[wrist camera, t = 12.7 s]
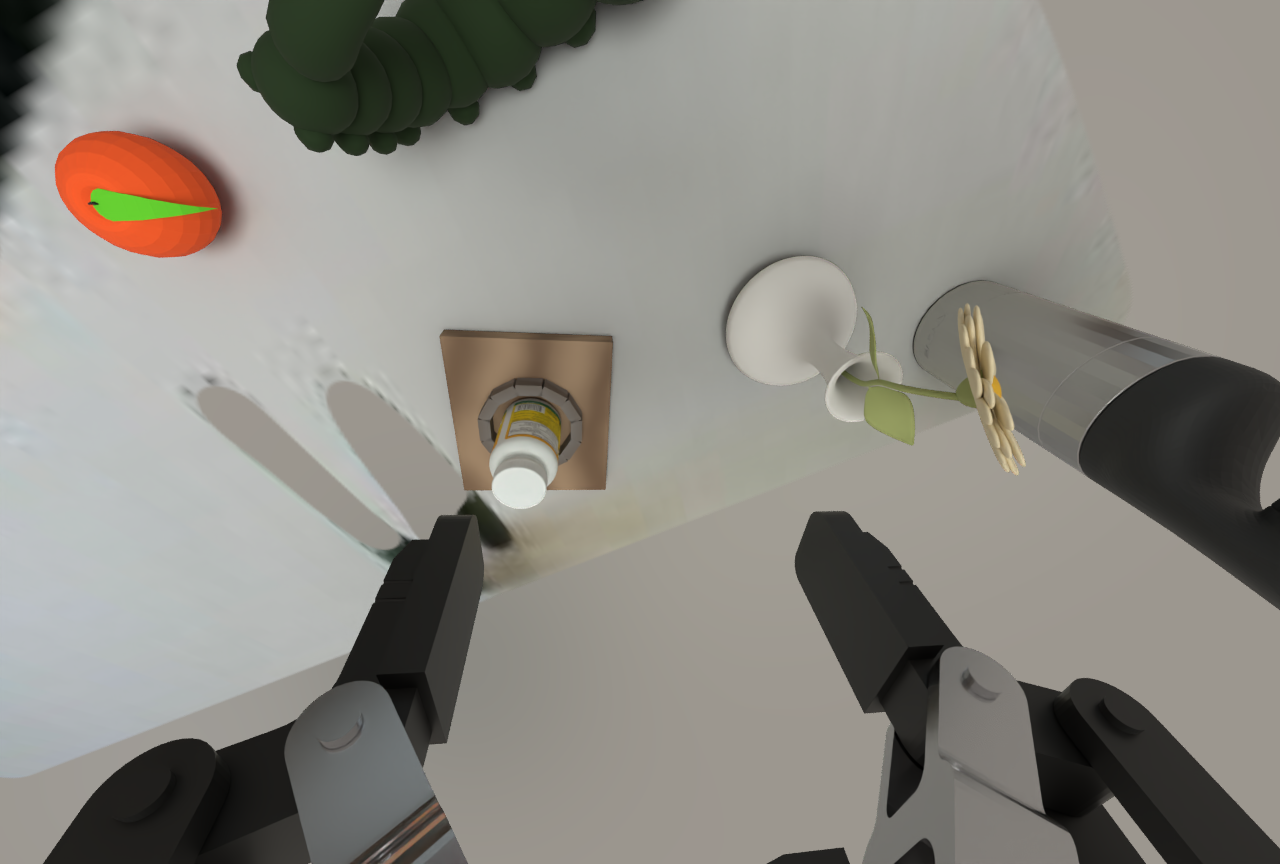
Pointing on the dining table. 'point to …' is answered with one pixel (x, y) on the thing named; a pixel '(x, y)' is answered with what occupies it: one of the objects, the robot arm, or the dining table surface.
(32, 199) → the dining table surface
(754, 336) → the flower in vase
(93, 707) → the dining table surface
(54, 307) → the dining table surface
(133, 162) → the clementine
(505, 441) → the supplement bottle
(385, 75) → the toy figurine
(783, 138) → the dining table surface
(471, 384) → the collar board
